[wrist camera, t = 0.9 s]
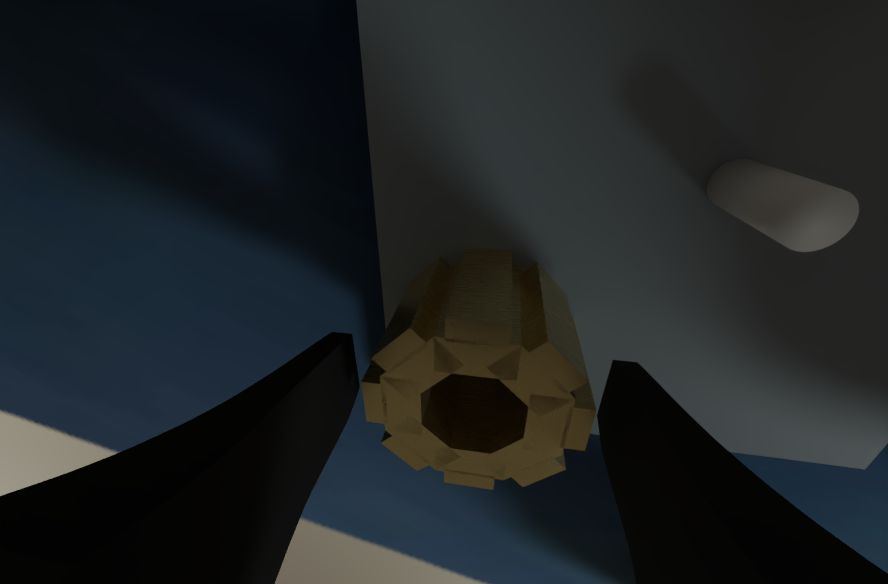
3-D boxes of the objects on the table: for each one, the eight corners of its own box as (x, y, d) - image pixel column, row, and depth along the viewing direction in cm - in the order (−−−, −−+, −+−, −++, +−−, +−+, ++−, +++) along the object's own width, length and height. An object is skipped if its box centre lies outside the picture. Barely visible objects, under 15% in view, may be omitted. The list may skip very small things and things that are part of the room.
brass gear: (584, 255, 11) (617, 334, 7) (556, 396, 14) (570, 501, 10) (399, 243, 12) (351, 310, 8) (407, 378, 14) (373, 471, 11)
